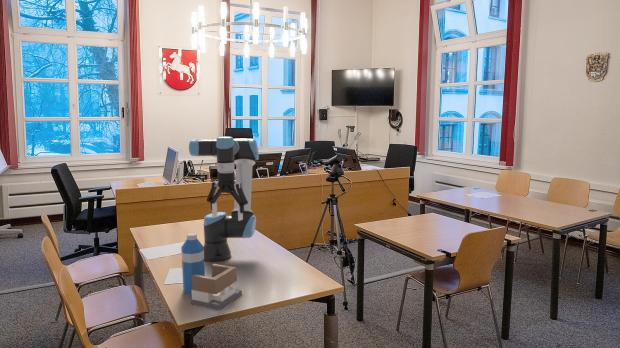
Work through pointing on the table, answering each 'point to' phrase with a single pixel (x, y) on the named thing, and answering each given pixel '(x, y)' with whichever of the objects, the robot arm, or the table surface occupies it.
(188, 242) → the water bottle
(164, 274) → the table surface
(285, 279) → the table surface
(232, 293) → the tray of white blocks
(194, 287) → the brown open crate
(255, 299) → the table surface
